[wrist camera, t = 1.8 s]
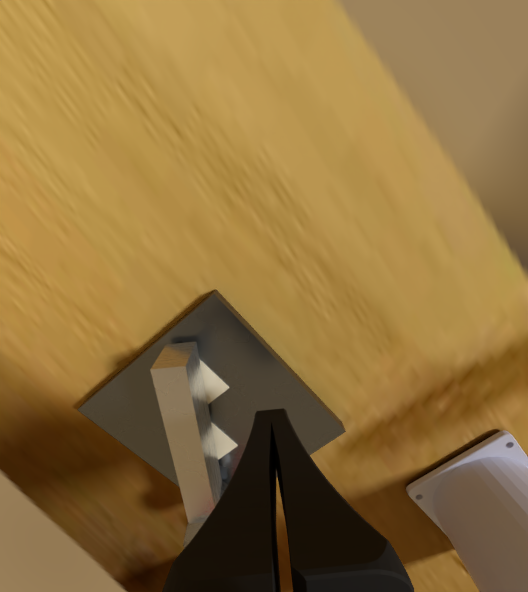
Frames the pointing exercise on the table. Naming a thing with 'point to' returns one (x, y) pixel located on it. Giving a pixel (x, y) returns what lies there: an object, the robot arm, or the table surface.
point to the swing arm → (188, 431)
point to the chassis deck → (225, 408)
